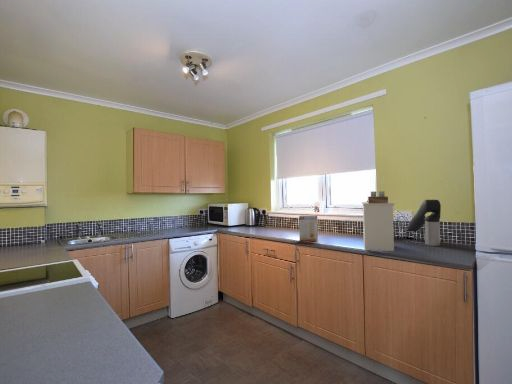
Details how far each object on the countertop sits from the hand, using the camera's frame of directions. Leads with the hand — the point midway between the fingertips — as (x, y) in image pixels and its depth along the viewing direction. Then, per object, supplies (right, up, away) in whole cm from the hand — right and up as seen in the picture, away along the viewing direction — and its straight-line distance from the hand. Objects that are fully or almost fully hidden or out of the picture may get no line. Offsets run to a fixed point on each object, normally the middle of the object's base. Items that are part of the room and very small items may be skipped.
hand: (374, 201), depth 217 cm
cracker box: (-49, -33, +12) cm, 61 cm away
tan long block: (-4, 0, -14) cm, 15 cm away
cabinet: (-6, -32, -19) cm, 38 cm away
